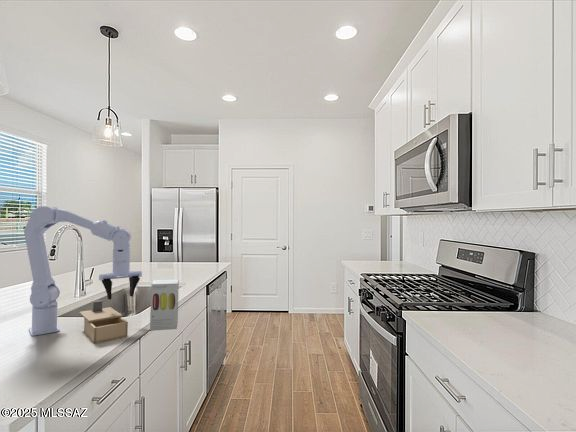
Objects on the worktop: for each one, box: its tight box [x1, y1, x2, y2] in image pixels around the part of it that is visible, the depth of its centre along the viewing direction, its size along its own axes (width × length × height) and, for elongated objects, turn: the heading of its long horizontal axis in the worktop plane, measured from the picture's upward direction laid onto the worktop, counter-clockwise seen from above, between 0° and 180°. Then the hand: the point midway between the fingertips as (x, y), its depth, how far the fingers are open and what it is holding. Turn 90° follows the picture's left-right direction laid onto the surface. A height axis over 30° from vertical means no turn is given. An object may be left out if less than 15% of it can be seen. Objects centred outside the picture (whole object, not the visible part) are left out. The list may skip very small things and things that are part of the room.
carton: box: [83, 317, 129, 345], centre depth 115 cm, size 14×10×5 cm
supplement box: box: [149, 278, 180, 332], centre depth 125 cm, size 10×9×17 cm
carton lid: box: [78, 299, 123, 322], centre depth 120 cm, size 14×10×4 cm
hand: (120, 297), depth 126 cm, fingers open, 7 cm apart
